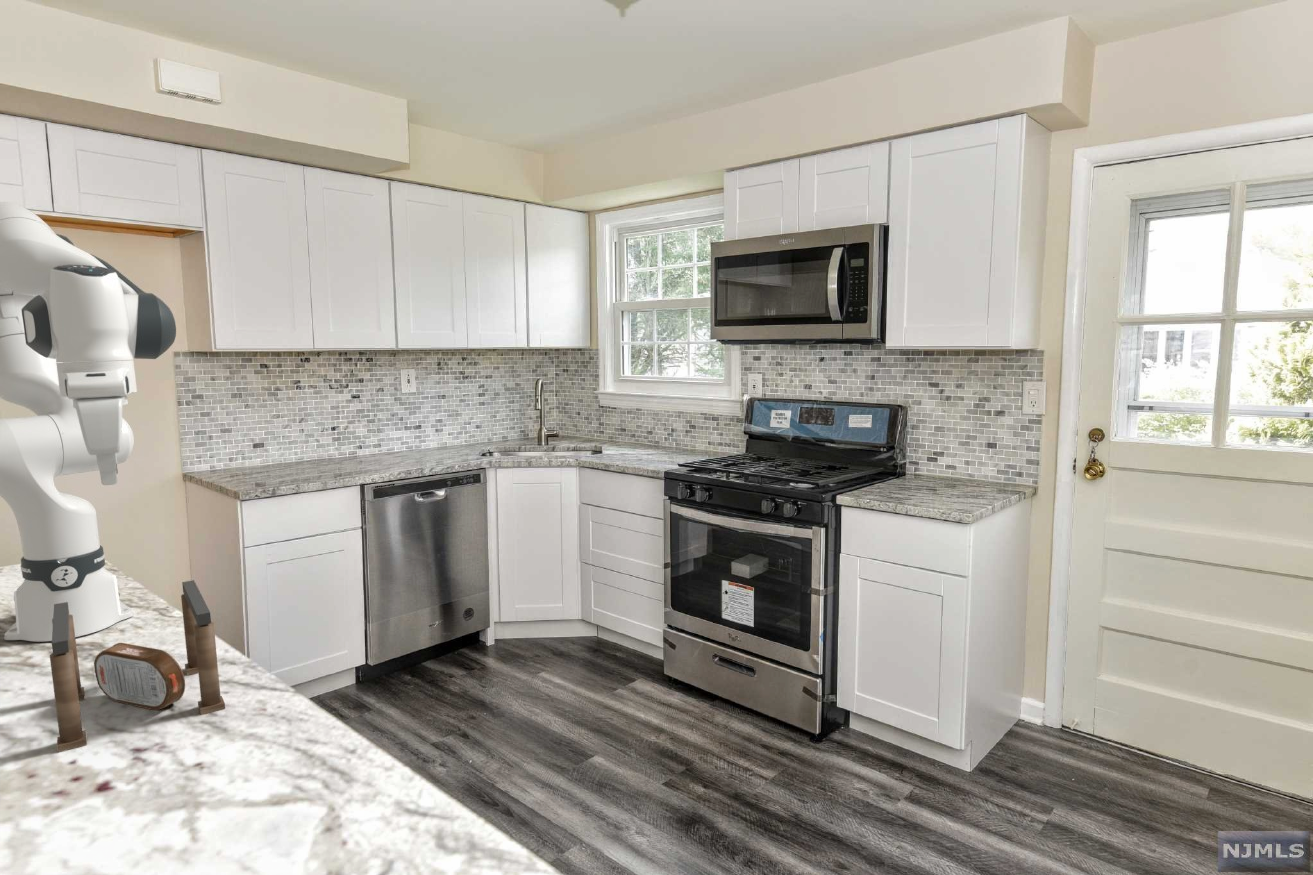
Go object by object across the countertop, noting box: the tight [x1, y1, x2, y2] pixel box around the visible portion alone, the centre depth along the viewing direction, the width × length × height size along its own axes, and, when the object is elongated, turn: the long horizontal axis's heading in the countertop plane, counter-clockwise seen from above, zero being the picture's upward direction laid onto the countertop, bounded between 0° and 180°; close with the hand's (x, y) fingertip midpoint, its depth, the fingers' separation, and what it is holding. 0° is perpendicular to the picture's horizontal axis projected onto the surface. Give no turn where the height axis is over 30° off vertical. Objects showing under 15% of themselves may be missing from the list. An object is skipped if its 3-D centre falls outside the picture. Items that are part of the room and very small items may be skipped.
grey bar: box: [51, 602, 69, 655], centre depth 106 cm, size 18×2×2 cm, turn 37°
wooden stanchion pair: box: [49, 593, 226, 753], centre depth 112 cm, size 19×19×12 cm
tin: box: [93, 642, 186, 711], centre depth 112 cm, size 15×3×8 cm, turn 71°
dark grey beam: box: [181, 579, 212, 626], centre depth 116 cm, size 18×2×2 cm, turn 37°
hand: (110, 479), depth 111 cm, fingers open, 8 cm apart
